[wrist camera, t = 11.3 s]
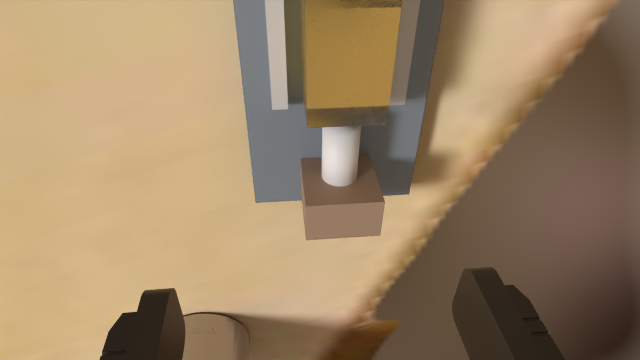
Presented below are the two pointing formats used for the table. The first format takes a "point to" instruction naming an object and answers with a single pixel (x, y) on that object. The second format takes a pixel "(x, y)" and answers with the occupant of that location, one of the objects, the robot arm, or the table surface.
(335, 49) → the coupler
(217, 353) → the robot arm
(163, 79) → the table surface
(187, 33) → the table surface
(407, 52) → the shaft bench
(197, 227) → the table surface
